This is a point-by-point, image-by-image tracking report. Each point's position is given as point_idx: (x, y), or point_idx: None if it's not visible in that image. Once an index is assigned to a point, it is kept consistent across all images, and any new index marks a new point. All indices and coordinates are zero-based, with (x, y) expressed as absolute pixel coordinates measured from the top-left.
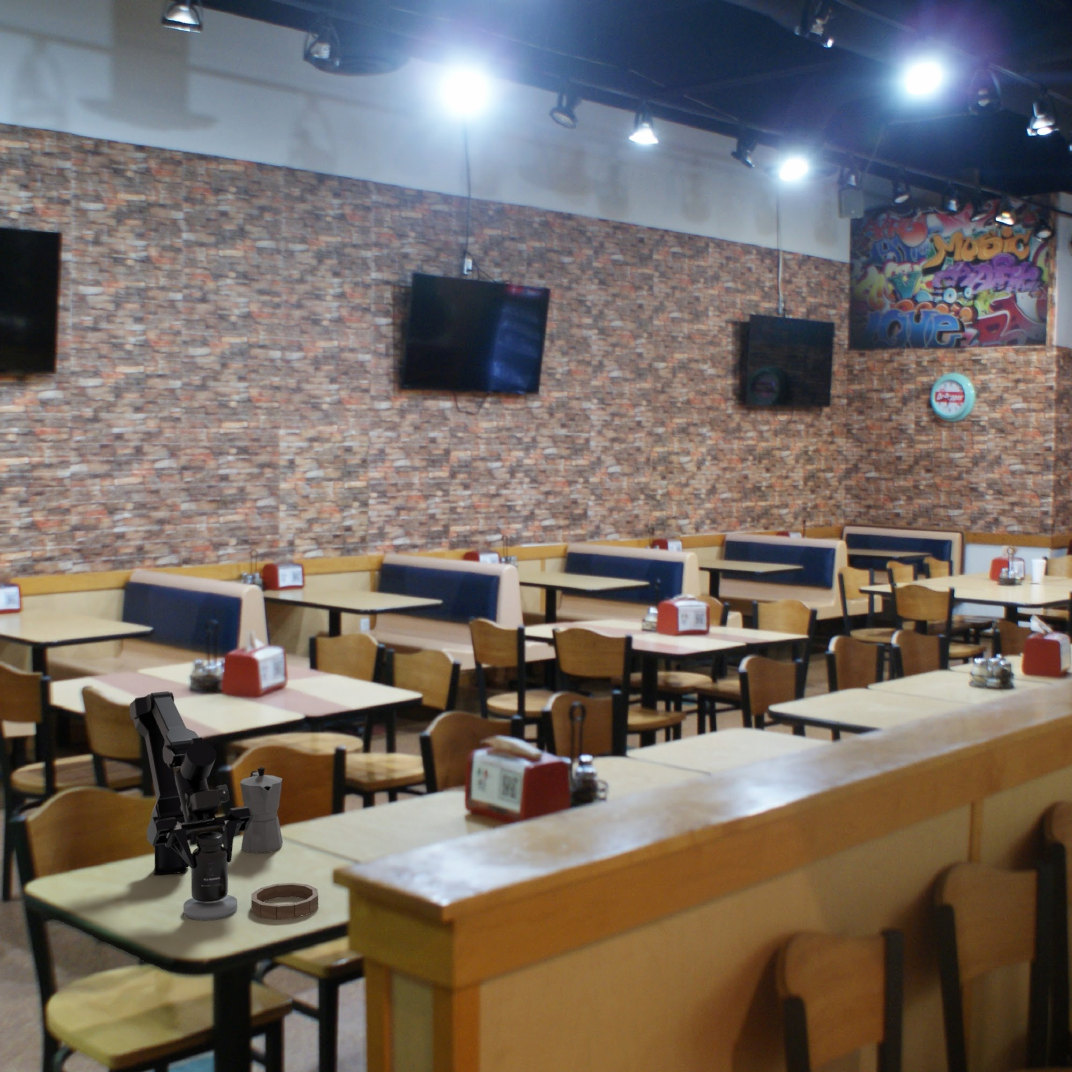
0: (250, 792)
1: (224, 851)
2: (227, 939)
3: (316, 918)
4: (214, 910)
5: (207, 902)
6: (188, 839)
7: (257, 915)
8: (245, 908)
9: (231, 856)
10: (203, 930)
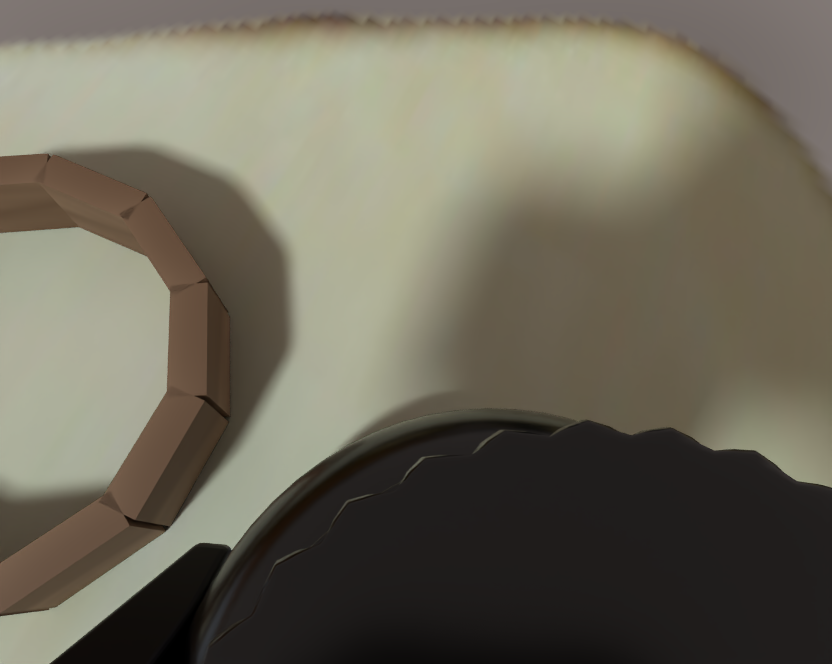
0: None
1: (290, 518)
2: (508, 156)
3: (6, 140)
4: None
5: None
6: None
7: (229, 348)
8: (220, 520)
9: (167, 568)
10: (579, 328)
